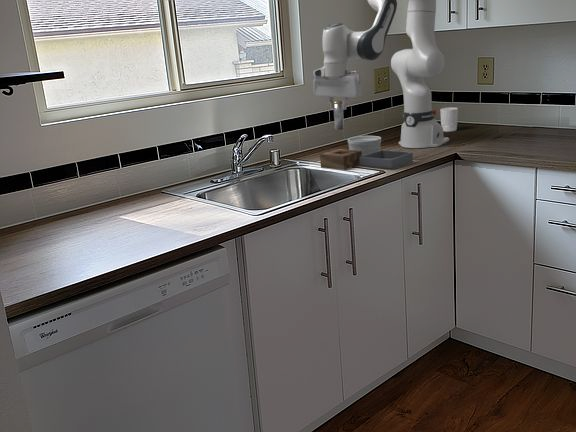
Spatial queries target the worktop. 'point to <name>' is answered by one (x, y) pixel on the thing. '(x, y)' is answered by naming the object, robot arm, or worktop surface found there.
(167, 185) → the worktop surface
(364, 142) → the ramekin
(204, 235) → the worktop surface
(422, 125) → the robot arm
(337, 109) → the steel pin
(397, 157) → the slate tray
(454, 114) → the white cup
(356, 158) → the walnut pin block
